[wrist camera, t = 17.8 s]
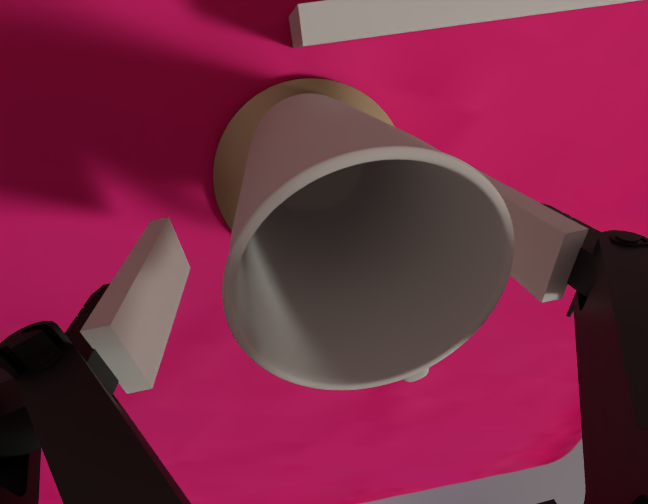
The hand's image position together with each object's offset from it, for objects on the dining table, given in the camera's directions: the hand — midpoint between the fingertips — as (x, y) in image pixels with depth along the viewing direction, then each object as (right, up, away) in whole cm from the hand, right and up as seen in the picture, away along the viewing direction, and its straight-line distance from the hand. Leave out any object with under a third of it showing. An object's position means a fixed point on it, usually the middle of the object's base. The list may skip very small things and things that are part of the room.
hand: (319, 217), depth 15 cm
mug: (0, +2, +3) cm, 4 cm away
